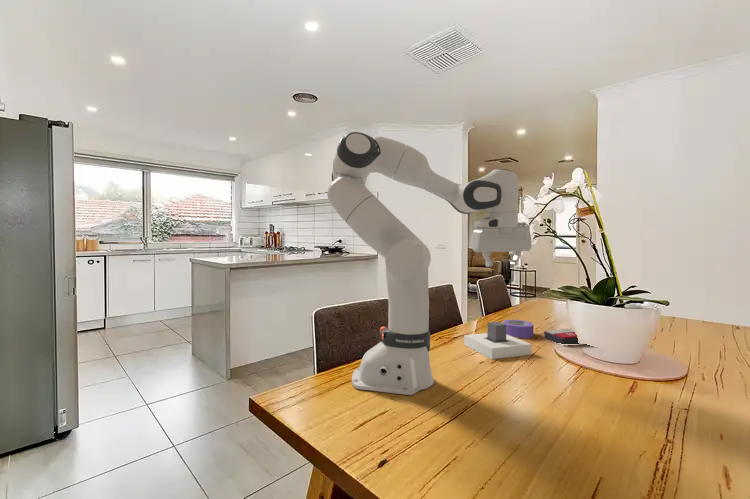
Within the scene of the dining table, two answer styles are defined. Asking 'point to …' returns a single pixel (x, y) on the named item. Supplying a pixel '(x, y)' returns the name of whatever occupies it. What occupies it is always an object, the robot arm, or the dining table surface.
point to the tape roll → (519, 328)
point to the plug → (496, 332)
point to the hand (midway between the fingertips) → (501, 265)
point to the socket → (497, 346)
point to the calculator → (562, 336)
